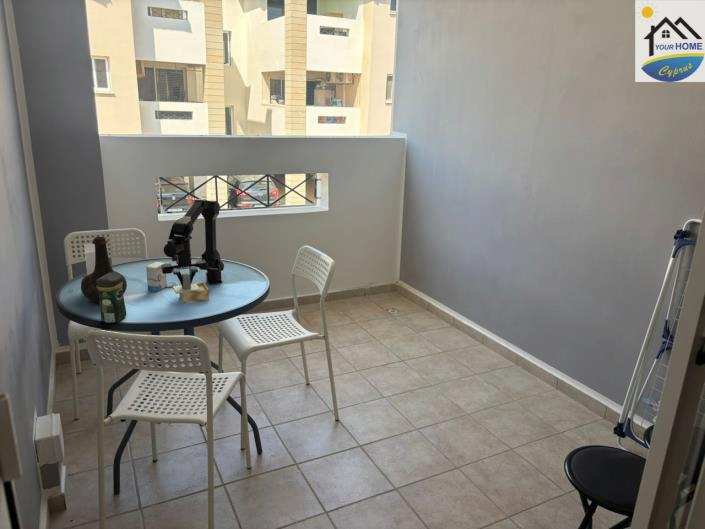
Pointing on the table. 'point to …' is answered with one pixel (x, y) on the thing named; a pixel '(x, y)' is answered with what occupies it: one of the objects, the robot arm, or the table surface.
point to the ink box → (155, 277)
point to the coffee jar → (111, 298)
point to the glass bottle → (99, 271)
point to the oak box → (195, 294)
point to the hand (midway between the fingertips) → (186, 285)
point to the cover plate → (179, 289)
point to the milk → (90, 257)
